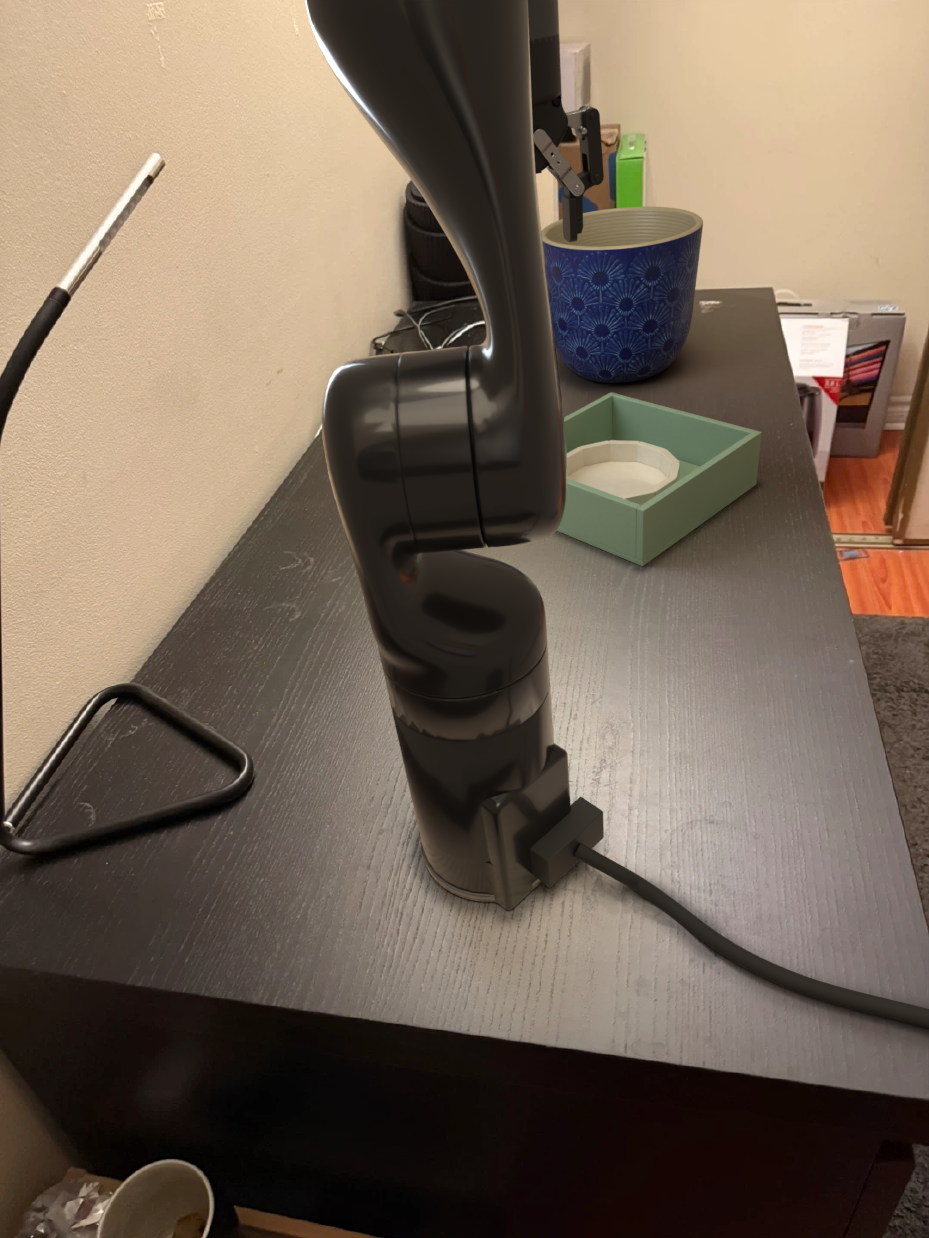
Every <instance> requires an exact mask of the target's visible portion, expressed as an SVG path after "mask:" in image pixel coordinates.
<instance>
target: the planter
mask: <svg viewBox="0 0 929 1238" xmlns="http://www.w3.org/2000/svg"><path fill="white" fill-rule="evenodd" d="M703 228H704V220H703V218H702V217H701V216H700V215H699V214H697V213H696V212H693V211H690V210H687V209H682V208H677V207H668V206H626V207H615V208H606V209H600V210H599V209H598V210H594V211H587V212H583V230H582V233H580V234H577V235H578V238H577V241H574V242H568V241H566V240H565V239H564V236H563V218H561V219H559V220H556V221H554V222H551V223H550V224H548V225H547V226H545V227H544V228H543V229H541V231H542V240H543V248H544V257H545V265H546V273H547V282H548V290H549V298H550V306H551V315H552V323H553V331H554V339H555V347H556V353H557V354H558V356H559V358H560V359H561V362H563V363H564V364H565V366H566V367H567V368H568V369H569V370H570V371H571V372H573V374H576V375H578V376H580V377H581V378H583V379H586V380H588V381H592V382H597V383H604V384H625V383H633V382H637V381H642V380H646V379H648V378H652V377H653V376H656V375H658V374H659V373H661V372H662V371H664V370H666V369H667V368H668V367H669V366H670V365H671V364H672V363H673V362H674V361H676V359H677V358H678V357H679V355H680V354H681V352H682V350H683V348H684V347H685V344H686V341H687V339H688V336H689V333H690V329H691V325H692V318H693V311H694V303H695V295H696V287H697V279H698V270H699V269H698V268H699V262H700V253H701V246H702V245H701V244H702V237H703Z"/></svg>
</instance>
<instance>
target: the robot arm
mask: <svg viewBox="0 0 929 1238" xmlns="http://www.w3.org/2000/svg"><path fill="white" fill-rule="evenodd" d="M304 1H305V7H306V11H307V12H306V13H307V16H308V20H309V23H310V28H311V30H312V33H313V35H314V38H315V40H316V42H317V45H318V47H319V49H320V52H321V54H322V55H323V57H324V59H325V61H326V63H327V65H328V66H329V68H330V70H331V71H332V73H333V75H334V76H335V79H336V80H337V81H338V83H339V84H340V86H341V87H342V89H343V90H344V92H345V93H346V94H347V96H348V97H349V99H350V100H351V101H352V103H353V105H354V106H355V107H356V109H357V110H358V112H359V113H360V114H361V116H362V117H363V118H364V119H365V121H366V123H368V125H369V126H370V128H372V130H373V131H374V133H375V135H376V136H377V137H378V138H379V139H380V140H381V142H382V143H383V144H384V145H385V147H386V148H387V150H388V151H389V152H390V153H391V155H392V156H393V157H394V159H395V160H396V162H397V163H398V164H399V165H400V167H401V168H402V169H403V170H404V172H405V174H407V176H408V177H409V179H410V180H411V182H412V183H413V185H414V186H415V187H416V190H418V192H419V193H420V194H421V196H422V197H423V199H424V201H425V203H426V205H428V207H429V209H430V210H431V212H432V214H433V215H434V218H435V219H436V221H437V222H438V224H439V226H440V227H441V229H442V231H443V232H444V234H445V236H446V237H447V239H448V241H449V242H450V244H451V246H452V248H453V250H454V252H455V253H456V255H457V257H458V259H459V260H460V263H461V264H462V267H463V269H464V271H465V272H466V275H467V277H468V280H469V282H470V284H471V287H472V289H473V291H474V294H475V296H476V298H477V301H478V304H479V307H480V309H481V310H480V311H481V313H482V317H483V318H482V319H483V321H484V325H485V338H484V341H483V342H482V343H480V344H470V346H468V345H460V346H451V347H450V346H449V347H442V348H441V347H440V348H432V349H422V350H412V351H405V352H404V351H403V352H395V353H385V354H377V355H370V356H362V357H356V358H353V359H349V360H346V361H344V362H342V363H341V364H339V365H338V366H337V367H336V368H335V369H334V371H332V373H331V374H330V376H329V378H328V380H327V383H326V386H325V389H324V395H323V399H322V407H321V437H322V444H323V450H324V451H323V452H324V455H325V463H326V468H327V474H328V479H329V483H330V485H331V490H332V494H333V498H334V501H335V505H336V509H337V512H338V516H339V518H340V519H339V520H340V521H341V522H340V523H341V525H342V528H343V532H344V536H345V538H346V543H347V545H348V548H349V551H350V554H351V558H352V562H353V565H354V568H355V571H356V575H357V579H358V582H359V585H360V589H361V593H362V597H363V601H364V604H365V609H366V613H367V618H368V621H369V624H370V628H371V631H372V635H373V638H374V640H375V643H376V646H377V651H378V655H379V660H380V664H381V668H382V671H383V672H382V673H383V677H384V680H385V685H386V689H387V694H388V699H389V705H390V707H391V712H392V717H393V718H392V719H393V722H394V727H395V731H396V735H397V740H398V744H399V749H400V753H401V757H402V763H403V766H404V772H405V776H406V780H407V784H408V789H409V792H410V793H409V794H410V798H411V802H412V806H413V811H414V816H415V821H416V823H417V827H418V828H417V829H418V833H419V837H420V844H421V846H420V847H421V852H422V857H423V861H424V865H425V867H426V869H427V870H428V871H427V872H429V874H430V875H431V876H432V878H433V879H434V881H436V882H437V884H439V886H440V887H442V888H443V889H444V890H446V891H448V892H449V893H452V894H453V895H455V896H457V897H460V898H463V899H466V900H470V901H475V902H483V903H485V902H487V903H496V904H498V905H500V906H501V907H502V908H503V909H504V910H506V911H511V910H513V909H514V908H515V907H516V906H518V904H519V903H520V902H522V901H523V900H524V899H525V898H526V897H527V896H528V895H529V894H530V893H531V892H533V890H535V889H536V888H537V887H538V886H540V885H541V884H542V883H543V884H544V885H545V886H547V888H549V889H551V888H552V887H553V886H554V885H555V884H556V883H557V882H559V881H560V880H561V879H562V878H563V877H564V876H565V875H566V874H567V873H568V872H569V871H570V870H571V869H572V868H573V867H575V865H576V864H578V863H579V862H580V861H581V862H583V863H585V864H586V865H588V866H590V867H592V868H593V869H596V870H597V871H599V872H601V873H602V874H604V875H606V876H608V877H609V878H612V879H613V880H615V881H617V882H619V883H620V884H622V885H624V886H626V887H627V888H630V889H631V890H633V891H634V892H636V893H637V894H639V895H640V896H642V897H643V898H645V899H646V900H647V901H649V902H650V903H652V904H653V905H655V906H657V907H658V908H659V909H660V910H662V911H663V912H665V913H666V914H668V916H670V917H671V918H672V919H674V920H675V921H676V922H677V923H678V924H680V925H681V926H683V927H684V928H685V929H686V930H687V931H689V932H690V933H691V934H692V935H694V936H695V937H696V938H697V939H699V940H700V941H701V942H702V943H704V944H705V945H707V946H708V947H709V948H711V949H712V950H713V951H715V952H716V953H718V954H720V955H721V956H723V957H724V958H726V959H727V960H730V961H731V962H733V963H734V964H736V965H738V966H739V967H742V968H743V969H745V970H747V971H749V972H751V973H753V974H754V975H757V976H758V977H761V978H763V979H765V980H767V981H770V982H772V983H774V984H777V985H778V986H781V987H783V988H786V989H788V990H790V991H794V992H796V993H799V994H802V995H805V996H807V997H811V998H814V999H816V1000H819V1001H822V1002H825V1003H829V1004H833V1005H835V1006H839V1007H843V1008H846V1009H851V1010H854V1011H857V1012H861V1013H862V1012H863V1013H867V1014H870V1015H874V1016H877V1017H881V1018H886V1019H889V1020H894V1021H897V1022H902V1023H905V1024H910V1025H914V1026H918V1027H922V1028H925V1029H929V1008H926V1007H923V1006H919V1005H915V1004H910V1003H907V1002H902V1001H898V1000H894V999H891V998H886V997H883V996H878V995H873V994H870V993H866V992H863V991H857V990H854V989H849V988H847V987H846V988H845V987H842V986H839V985H836V984H831V983H827V982H824V981H821V980H818V979H815V978H812V977H809V976H806V975H803V974H800V973H798V972H795V971H794V970H790V969H787V968H785V967H783V966H781V965H779V964H776V963H774V962H772V961H770V960H768V959H765V958H763V957H761V956H759V955H757V954H755V953H753V952H751V951H750V950H747V949H745V948H743V947H742V946H740V945H738V944H737V943H735V942H733V941H732V940H730V939H729V938H727V937H726V936H724V935H723V934H721V933H719V932H718V931H716V930H715V929H714V928H712V927H711V926H709V925H708V924H707V923H705V922H704V921H703V920H701V919H700V918H699V917H697V916H696V915H695V914H694V913H692V912H691V911H689V910H688V909H687V908H686V907H685V906H683V905H681V903H679V902H678V901H676V900H675V899H674V898H673V897H671V896H670V895H669V894H667V893H665V892H664V891H663V890H661V888H659V887H658V886H656V885H655V884H653V883H652V882H650V881H649V880H647V879H645V878H644V877H642V876H641V875H640V874H637V873H636V872H634V871H632V870H630V869H629V868H626V867H625V866H623V865H621V864H620V863H618V862H616V861H615V860H612V859H611V858H609V857H607V856H606V855H603V854H602V853H599V851H596V850H595V849H593V848H594V847H596V846H597V844H599V843H600V842H601V841H602V840H603V839H604V838H605V833H604V831H605V830H604V829H605V828H604V811H603V810H602V809H601V808H599V807H598V806H596V805H594V804H593V803H592V802H590V801H588V800H587V799H585V797H583V796H579V797H578V798H577V799H576V800H574V801H573V803H571V788H570V787H571V786H570V771H569V770H570V769H569V755H568V751H567V750H566V749H565V748H562V747H561V746H560V745H558V744H556V743H555V735H554V734H555V733H554V719H553V706H552V705H553V704H552V691H551V674H550V673H551V672H550V659H549V658H550V657H549V644H548V627H547V614H546V608H545V603H544V600H543V596H542V595H541V591H540V590H539V588H538V586H537V585H536V584H535V583H534V581H533V580H532V579H531V578H530V577H529V576H528V575H527V574H525V573H524V572H523V571H521V570H519V568H516V567H515V566H513V565H511V564H508V563H506V562H504V561H502V560H498V559H495V558H492V557H489V556H484V555H480V554H478V553H473V552H470V551H467V550H477V549H478V550H479V549H485V548H486V547H487V548H501V547H511V546H521V545H528V544H534V543H539V542H543V541H546V540H548V539H550V538H551V537H552V536H553V535H554V534H556V532H558V531H557V529H558V527H559V525H560V523H561V521H562V518H563V514H564V510H565V504H566V496H567V449H566V436H565V424H564V417H565V415H564V407H563V398H562V397H563V396H562V390H561V381H560V372H559V366H558V359H557V358H558V357H557V350H556V347H555V339H554V331H553V323H552V315H551V306H550V298H549V290H548V282H547V273H546V265H545V257H544V248H543V240H542V223H541V216H540V206H539V205H540V204H539V195H538V193H539V192H538V184H537V174H542V172H543V171H544V170H546V169H547V171H548V172H549V173H550V174H551V175H552V177H554V178H555V180H556V181H557V182H558V184H559V185H560V186H561V187H562V188H563V190H564V194H561V216H562V218H561V219H563V236H564V239H565V240H566V241H568V242H574V241H577V238H578V235H577V234H580V233H582V230H583V213H584V204H583V203H584V202H583V197H584V194H585V192H586V191H588V190H589V189H590V188H592V187H594V186H600V185H601V184H602V183H603V182H604V178H605V175H604V161H603V158H604V157H603V147H602V146H603V144H602V129H601V116H600V111H599V110H598V109H597V108H595V107H593V106H589V105H582V106H580V107H579V108H578V109H577V110H571V111H568V112H566V111H565V109H564V106H563V100H562V99H563V98H562V97H563V96H562V92H563V91H562V72H561V71H562V70H561V69H562V68H561V45H560V43H561V42H560V41H561V40H560V18H559V17H560V15H559V0H304ZM568 127H569V128H570V130H571V133H572V135H573V136H574V137H575V138H578V144H579V155H580V168H581V171H580V172H578V173H576V172H575V170H574V169H573V168H572V165H571V164H570V163H569V161H568V160H567V159H566V158H565V156H564V155H563V153H562V152H561V151H560V150H559V148H558V147H559V146H560V144H561V142H562V140H563V138H564V137H565V134H566V132H567V130H568Z"/></svg>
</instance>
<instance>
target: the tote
mask: <svg viewBox="0 0 929 1238" xmlns="http://www.w3.org/2000/svg"><path fill="white" fill-rule="evenodd" d="M564 424H565V436H566V449H567V453H568V452H570V451H572V450H574V449H575V448H577V447H580V446H584V445H588V444H593V443H598V442H602V441H607V440H608V441H610V440H622V441H639V442H641V441H642V442H645V443H648V444H652V445H655V446H658V447H662V448H665V449H667V450H668V451H669V452H670V453H671V454H672V455H673V456H674V457H675V458H676V459H677V460H678V461H679V462H680V474H679V481H678V482H676V483H675V484H673V485H672V486H670V487H669V488H667V489H666V490H664V491H663V492H661V493H660V494H658V495H657V496H655V497H654V498H652V499H651V500H649V501H648V502H646V503H644V504H643V505H640V504H637V503H634V502H631V501H629V500H626V499H623V498H620V497H618V496H615V495H612V494H609V493H606V492H604V491H601V490H598V489H595V488H593V487H590V486H587V485H584V484H581V483H579V482H576V481H573V480H570V479H568V478H567V496H566V504H565V510H564V514H563V518H562V521H561V523H560V525H559V527H558V529H557V531H556V532H558V533H561V534H564V535H565V536H568V537H571V538H573V539H575V540H577V541H581V542H583V543H585V544H587V545H590V546H592V547H595V548H597V549H600V550H602V551H605V552H607V553H609V554H611V555H614V556H616V557H619V558H622V559H623V560H625V561H628V562H631V563H633V564H635V565H638V566H639V567H640V566H641V567H644V566H645V565H647V564H648V563H650V562H651V561H652V560H654V559H655V558H657V557H658V556H660V555H661V554H662V553H664V552H665V551H666V550H667V549H669V548H671V547H672V546H673V545H675V544H676V543H678V542H679V541H680V540H681V539H683V538H684V537H685V536H687V535H688V534H690V533H691V532H693V531H694V530H695V529H697V528H698V527H700V526H701V525H703V524H704V523H706V522H707V521H708V520H709V519H711V518H712V517H714V516H715V515H716V514H718V513H719V512H720V511H722V510H723V509H724V508H726V507H727V506H729V505H730V504H731V503H733V502H734V501H736V500H738V498H740V497H742V496H743V495H745V493H747V492H748V491H750V490H751V489H752V488H754V487H755V486H756V485H757V481H758V472H759V471H758V470H759V461H760V454H761V453H760V452H761V444H762V435H763V434H762V433H763V432H762V431H760V430H756V429H752V428H748V427H744V426H740V425H737V424H734V423H729V422H725V421H721V420H719V419H714V418H710V417H706V416H702V415H699V414H695V413H692V412H687V411H684V410H679V409H677V408H672V407H668V406H664V405H661V404H657V403H653V402H649V401H647V400H646V401H645V400H641V399H639V398H634V397H631V396H626V395H624V394H623V395H622V394H618V393H616V392H612V391H611V392H608V393H607V394H604V395H602V396H601V397H599V398H597V399H596V400H594V401H592V402H590V403H588V404H586V405H584V406H582V407H581V408H579V409H577V410H575V411H574V412H572V413H570V414H568V415H566V416H564Z"/></svg>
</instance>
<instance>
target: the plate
mask: <svg viewBox="0 0 929 1238" xmlns="http://www.w3.org/2000/svg"><path fill="white" fill-rule="evenodd" d="M679 474H680V462H679V461H678V460H677V459H676V458H675V457H674V456H673V455H672V454H671V453H670V452H669V451H668V450H667V449H665V448H662V447H658V446H655V445H652V444H648V443H645V442H642V441H641V442H639V441H622V440H610V441H608V440H607V441H602V442H598V443H593V444H588V445H584V446H580V447H577V448H575V449H574V450H572V451H570V452H568V453H567V478H568V479H570V480H573V481H576V482H579V483H581V484H584V485H587V486H590V487H593V488H595V489H598V490H601V491H604V492H606V493H609V494H612V495H615V496H618V497H620V498H623V499H626V500H629V501H631V502H634V503H637V504H640V505H643V504H644V503H646V502H648V501H649V500H651V499H652V498H654V497H655V496H657V495H658V494H660V493H661V492H663V491H664V490H666V489H667V488H669V487H670V486H672V485H673V484H675V483H676V482H678V481H679Z"/></svg>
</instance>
